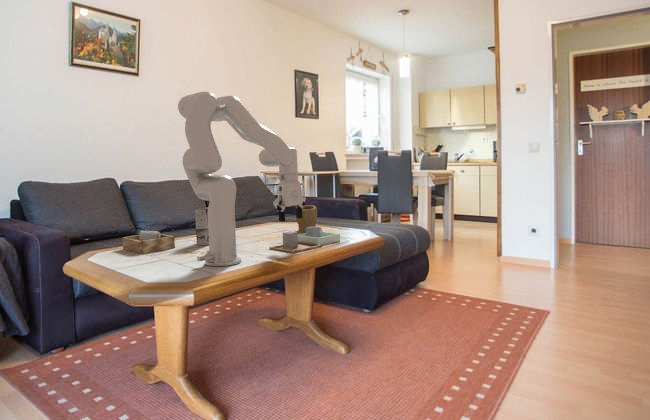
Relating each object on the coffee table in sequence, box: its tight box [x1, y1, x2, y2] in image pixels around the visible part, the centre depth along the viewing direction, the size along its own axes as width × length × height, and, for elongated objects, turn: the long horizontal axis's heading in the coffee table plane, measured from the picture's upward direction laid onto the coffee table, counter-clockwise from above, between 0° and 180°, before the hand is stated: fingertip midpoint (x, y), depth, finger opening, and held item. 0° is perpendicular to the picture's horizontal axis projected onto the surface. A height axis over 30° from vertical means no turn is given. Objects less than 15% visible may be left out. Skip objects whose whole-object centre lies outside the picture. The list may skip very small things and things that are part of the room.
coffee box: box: [194, 206, 209, 246], centre depth 197 cm, size 9×6×16 cm
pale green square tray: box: [298, 231, 341, 246], centre depth 192 cm, size 14×14×4 cm
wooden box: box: [121, 233, 176, 255], centre depth 189 cm, size 15×17×5 cm
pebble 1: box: [282, 231, 298, 248], centre depth 181 cm, size 4×4×6 cm
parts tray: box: [268, 242, 323, 254], centre depth 179 cm, size 16×14×2 cm
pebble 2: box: [306, 225, 321, 238], centre depth 194 cm, size 4×4×6 cm
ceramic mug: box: [138, 230, 162, 241], centre depth 192 cm, size 11×8×8 cm
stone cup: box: [294, 204, 324, 234], centre depth 212 cm, size 15×12×15 cm
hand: (290, 219), depth 181 cm, fingers open, 9 cm apart
